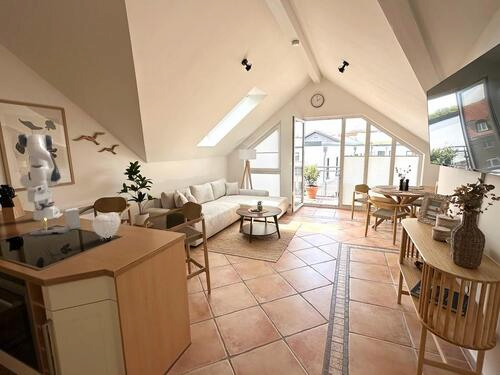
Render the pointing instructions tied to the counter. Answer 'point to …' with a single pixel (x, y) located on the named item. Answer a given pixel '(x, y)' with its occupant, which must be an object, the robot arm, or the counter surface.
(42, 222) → the pin
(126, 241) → the counter surface
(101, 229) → the decorative heart
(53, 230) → the bar with square hole
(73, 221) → the skincare box
